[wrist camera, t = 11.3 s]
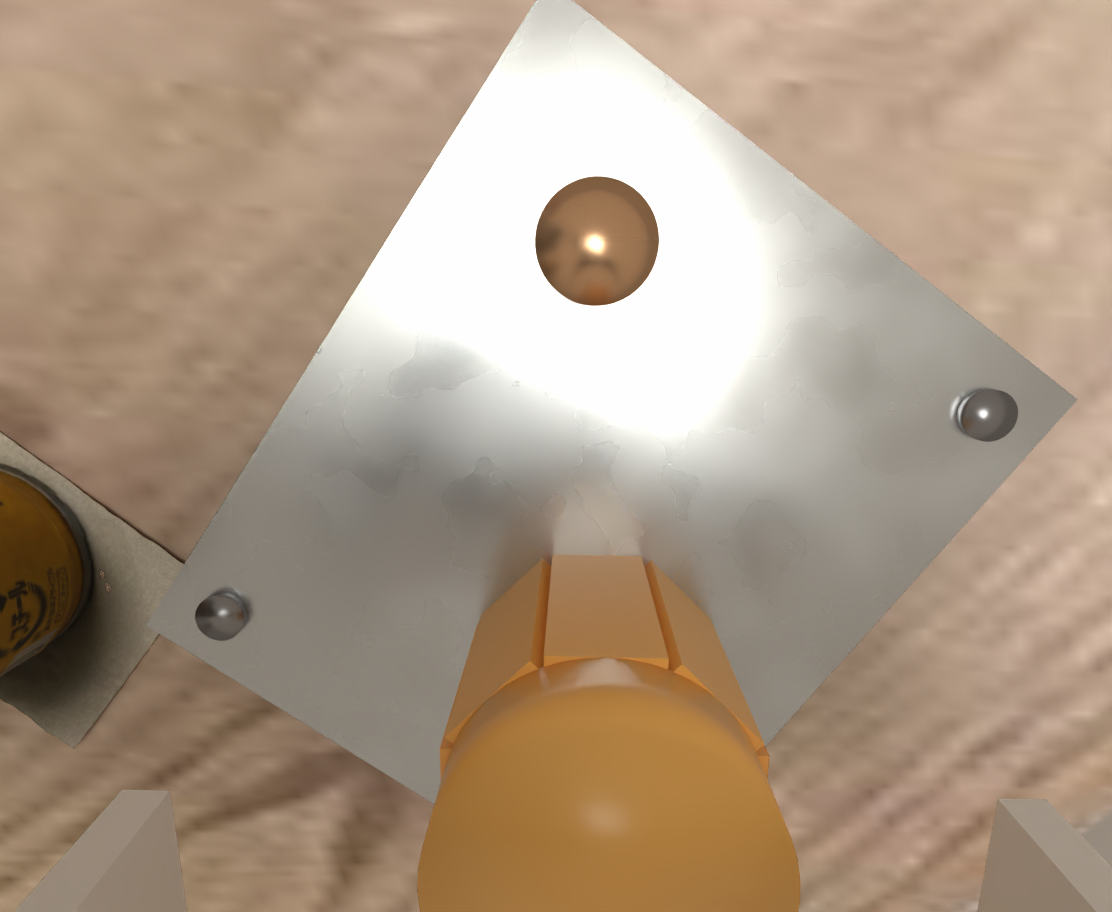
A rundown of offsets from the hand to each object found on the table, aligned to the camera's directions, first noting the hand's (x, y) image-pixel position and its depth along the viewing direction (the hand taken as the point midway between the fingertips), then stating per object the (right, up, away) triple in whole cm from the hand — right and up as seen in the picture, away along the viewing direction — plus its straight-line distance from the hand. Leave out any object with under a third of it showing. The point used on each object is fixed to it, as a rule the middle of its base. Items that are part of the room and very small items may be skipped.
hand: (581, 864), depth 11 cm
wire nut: (+1, +1, +7) cm, 7 cm away
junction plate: (0, +6, +8) cm, 10 cm away
